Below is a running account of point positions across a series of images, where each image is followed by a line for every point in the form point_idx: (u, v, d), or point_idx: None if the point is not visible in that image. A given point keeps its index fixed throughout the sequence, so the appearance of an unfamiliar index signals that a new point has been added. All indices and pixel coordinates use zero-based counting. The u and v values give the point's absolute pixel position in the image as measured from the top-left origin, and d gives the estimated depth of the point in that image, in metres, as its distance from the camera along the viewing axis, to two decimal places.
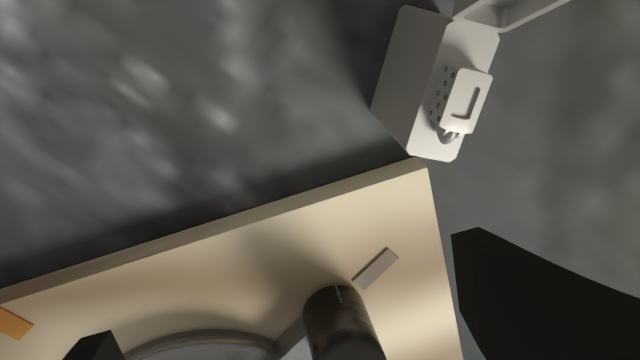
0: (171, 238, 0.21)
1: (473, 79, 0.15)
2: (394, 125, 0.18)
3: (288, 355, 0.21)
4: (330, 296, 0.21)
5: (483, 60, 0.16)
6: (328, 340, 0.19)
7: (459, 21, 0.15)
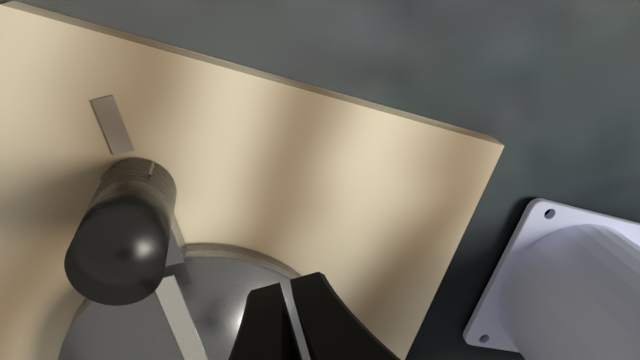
0: None
1: None
2: None
3: None
4: None
5: None
6: None
7: None
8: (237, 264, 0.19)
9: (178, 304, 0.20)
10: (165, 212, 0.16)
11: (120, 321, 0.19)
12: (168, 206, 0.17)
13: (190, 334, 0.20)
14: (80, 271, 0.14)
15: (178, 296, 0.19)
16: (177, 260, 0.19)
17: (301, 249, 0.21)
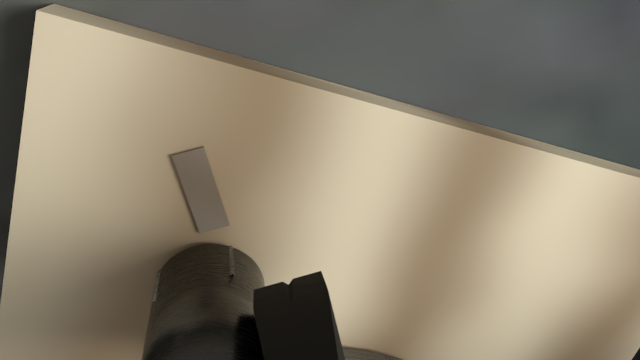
0: None
1: None
2: None
3: None
4: (152, 299, 0.12)
5: None
6: None
7: None
8: None
9: None
10: None
11: None
12: None
13: None
14: None
15: None
16: None
17: (445, 348, 0.15)
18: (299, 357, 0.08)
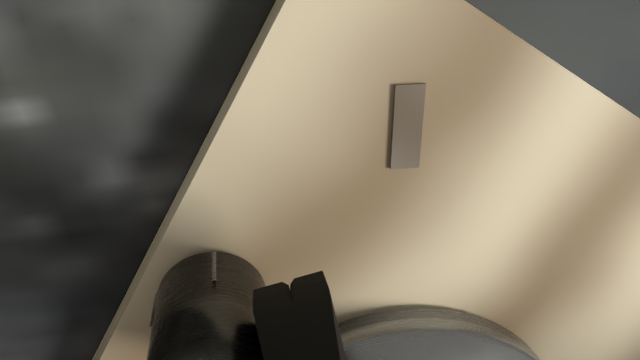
0: (127, 295, 0.14)
1: None
2: None
3: None
4: None
5: None
6: None
7: None
8: (385, 346, 0.13)
9: None
10: (256, 337, 0.10)
11: None
12: None
13: None
14: None
15: None
16: None
17: (553, 333, 0.16)
18: (300, 357, 0.08)
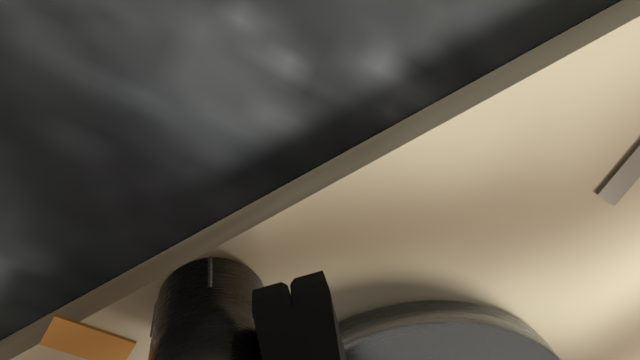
0: (312, 176, 0.13)
1: None
2: None
3: None
4: None
5: None
6: None
7: None
8: (388, 341, 0.13)
9: None
10: (253, 342, 0.10)
11: None
12: (254, 325, 0.11)
13: None
14: None
15: None
16: None
17: None
18: (301, 356, 0.08)
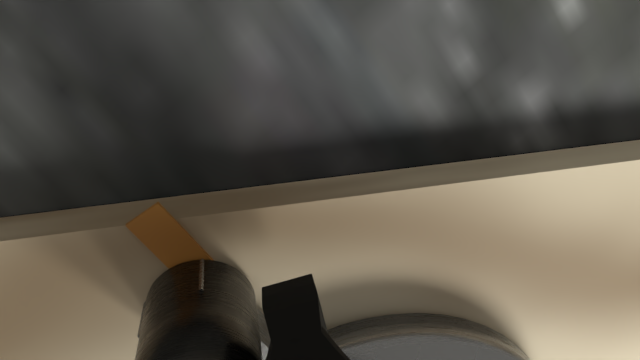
0: (435, 170, 0.14)
1: None
2: None
3: None
4: None
5: None
6: None
7: None
8: (375, 352, 0.13)
9: None
10: (242, 347, 0.10)
11: None
12: (244, 330, 0.11)
13: None
14: None
15: None
16: None
17: None
18: None
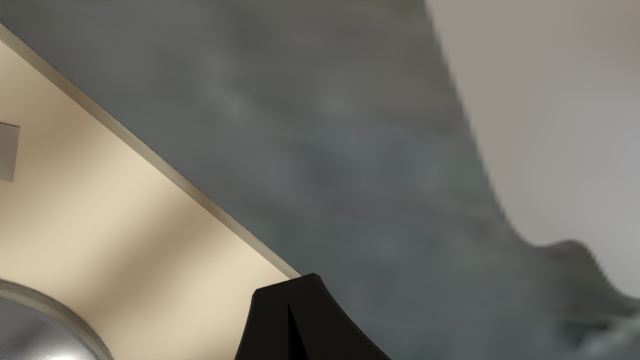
0: None
1: None
2: None
3: None
4: None
5: None
6: None
7: None
8: None
9: None
10: None
11: None
12: None
13: None
14: None
15: None
16: None
17: (124, 333, 0.21)
18: None
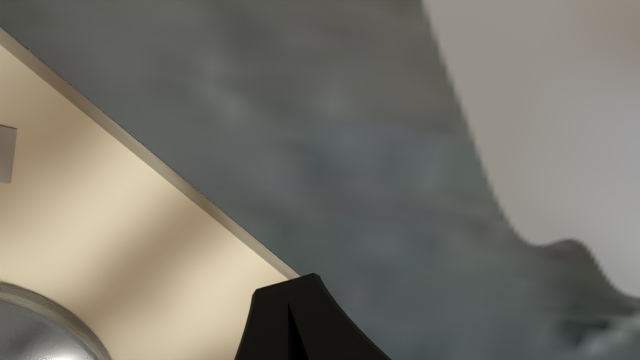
0: None
1: None
2: None
3: None
4: None
5: None
6: None
7: None
8: None
9: None
10: None
11: None
12: None
13: None
14: None
15: None
16: None
17: (123, 334, 0.21)
18: None
